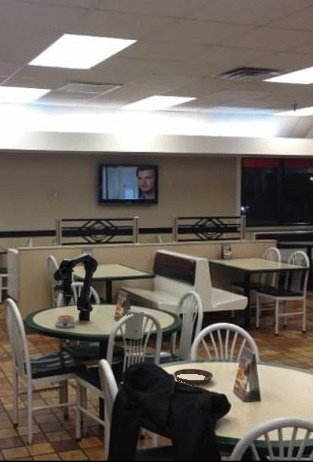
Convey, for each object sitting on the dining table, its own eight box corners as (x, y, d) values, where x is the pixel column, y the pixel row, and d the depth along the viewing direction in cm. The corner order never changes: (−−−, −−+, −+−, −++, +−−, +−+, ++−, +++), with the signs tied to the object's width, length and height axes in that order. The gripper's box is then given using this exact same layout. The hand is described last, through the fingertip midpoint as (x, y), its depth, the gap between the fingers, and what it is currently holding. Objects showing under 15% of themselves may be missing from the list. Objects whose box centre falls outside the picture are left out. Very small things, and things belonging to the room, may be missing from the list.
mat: (73, 324, 386) (73, 324, 386) (76, 329, 375) (76, 328, 375) (54, 325, 383) (54, 324, 383) (56, 329, 371) (56, 328, 371)
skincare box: (124, 338, 358) (125, 310, 357) (130, 335, 364) (131, 308, 363) (137, 340, 354) (138, 312, 353) (143, 337, 360) (144, 310, 359)
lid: (73, 324, 386) (73, 315, 386) (76, 328, 375) (76, 319, 375) (54, 324, 383) (54, 315, 382) (56, 328, 372) (57, 319, 371)
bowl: (72, 321, 397) (72, 315, 397) (74, 324, 388) (74, 318, 387) (57, 321, 394) (57, 315, 394) (59, 324, 385) (59, 318, 385)
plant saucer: (176, 386, 273) (176, 379, 272) (171, 374, 290) (171, 368, 290) (216, 386, 275) (216, 380, 274) (208, 375, 292) (208, 368, 292)
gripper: (52, 277, 388) (51, 302, 389) (55, 281, 370) (54, 307, 371) (70, 277, 391) (69, 302, 392) (74, 281, 373) (72, 307, 374)
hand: (65, 305), depth 382 cm, fingers open, 9 cm apart
